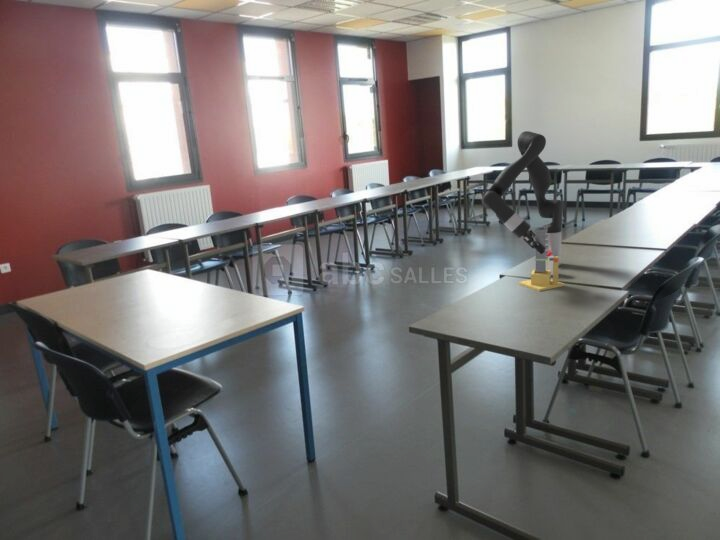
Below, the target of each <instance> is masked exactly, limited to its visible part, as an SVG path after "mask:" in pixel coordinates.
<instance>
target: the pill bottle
mask: <svg viewBox="0 0 720 540" xmlns="http://www.w3.org/2000/svg"><path fill="white" fill-rule="evenodd" d="M546 257H548V260H546V270H551V275H552V276H553V261H549V258H553V257H554V256H553V255H552V251H548V255H546Z"/></svg>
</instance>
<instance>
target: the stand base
mask: <svg viewBox="0 0 720 540" xmlns="http://www.w3.org/2000/svg"><path fill="white" fill-rule="evenodd" d="M549 261H553V275H552V276H551V270H546V271H545V272H536V269H532V271H531V273H530V279H526V280H521V281H518V282H517V285H519V286H522V287H526V288H528V289H531V290H534V291H537V292H542V291H545V290H546V291H547V290H551V289H555V288H560V287H564V286H565V283H563V282H561V281H559V266H558V264H559V256H554V257H553V258H549ZM551 277H552V278H551Z"/></svg>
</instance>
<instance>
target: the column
mask: <svg viewBox="0 0 720 540" xmlns="http://www.w3.org/2000/svg"><path fill="white" fill-rule="evenodd" d="M547 229H548V228H542V227H535V228H534V233H535V234H536V240H537V243H538V244H539V245H540V246H541V247H542V248H543V249H544V250H545V252H544V253H543V254H540V253H539V252H538V251H537V250H536V249H535V259H534V260H535V270H536V272H545V271H546V260H548V257H546V255H548V251H546V249H548V246H546V244H548V240H546V238H548V235H546V233H547Z"/></svg>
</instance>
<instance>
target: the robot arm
mask: <svg viewBox="0 0 720 540" xmlns="http://www.w3.org/2000/svg"><path fill="white" fill-rule="evenodd" d="M546 143H547V140H546V137H545V136H544V135H543V134H541V133H537V132H532V131H525V130H524V131H523V132H521V133H520V134H519V135H518V137H517V148H518V151H519V153H520V155H521V156H520V157H519V158H518V159H516V160H515V161H514V162H512V163H510V164H509V165H507V166H506V167H505V168H504V169H502V170H501V172H500V173H499V175H498V176H497V177H496V178H495V180H494V181H493V183H492V184H491V186H490V188H489V189H487V191H486V192H485V193H484V195H483V196H482V198H481V205H482V206H483V208H485V209H487V210H489V209H491V211H492V212H493V213H495V215H496V218H497V219H498V220H500V222H501V223H502V224H503V225H504V226H505V227H506V228H507V229H508V230H509V231H510V232H511V233H513V235H515V237H517V238H518V239H520V238H522V237H523V241H524V242H525V243H526V244H527V245H528V246H530V247H531V248H532V249H535V251H536V250H537V251H538V252H539V253H540V254H543V253H544V252H545V250H544V249H543V248H542V247H541V246H540V245H539V244H538V243H537V240H536V233H535V231H533V230H532V229H531V224H530V223H528V222H527V221H526V220H525V219H524V218H523V217H522V216H521V215H520V214H518V213H517V212H516V211H515V210H513V209H512V208H511V207H510V206H509V205H508V204H507V202H506V201H505V200H504V199H503V195H504V194H505V193H506V192H507V191H508V190H509V188H511V186H512V185H513V183H514V182H515V180H516V179H518V176H520V175H521V173H522V172H523V171H524V170H525V169H526V170H527V173H528V176H529V180H530V184H531V186H532V190H533V193H534V195H535V200H536V205H537V211H538V214H539V216H540V217H541V218H544V219H552V222H550V223H548V224H544V225H542V227H541V228H548V229H547V233H546V235H548V238H546V240H548V244H546V246H548V249H546V251H552V255H553V256H559V264H558V265H559V266H561V264H562V227H563V225H562V224H563V214H564V213H563V211H564V206H563V201H562V200H561V199H547V198H546V194H547V192H548V190H549V188H550V187H551V185H552V181H553V180H552V176H551V172H550V169H549V168H548V166H547V164H546V163H545V162H544V160H542V158H541V157H540V156H539V155H540V154H541V153H542V152H543V151H544V149H545V147H546Z"/></svg>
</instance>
